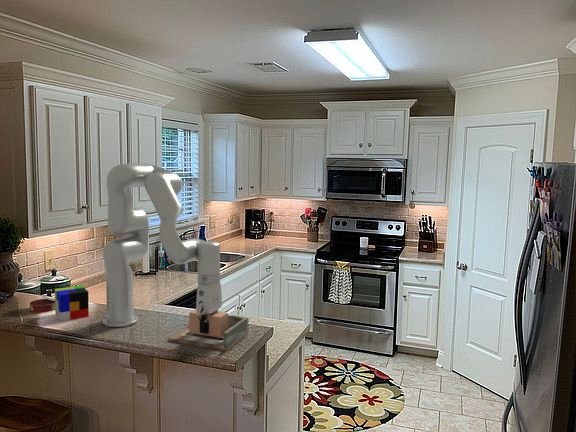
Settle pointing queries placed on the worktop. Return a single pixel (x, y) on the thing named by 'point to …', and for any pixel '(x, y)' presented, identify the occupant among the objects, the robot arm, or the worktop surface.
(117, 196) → the robot arm
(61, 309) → the puzzle toy
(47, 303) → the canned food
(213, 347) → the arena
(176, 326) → the worktop surface
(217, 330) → the block
